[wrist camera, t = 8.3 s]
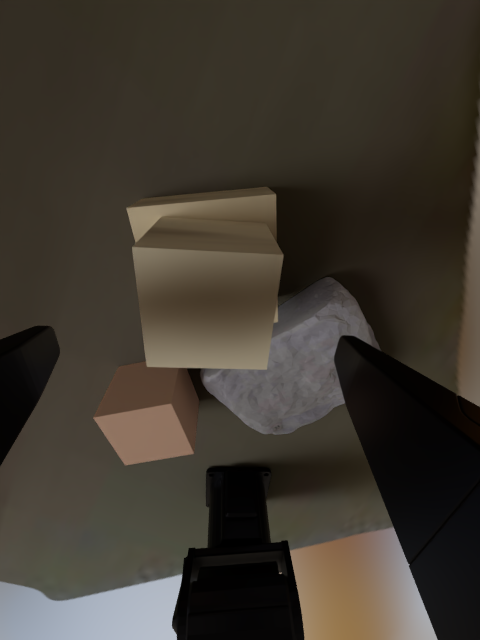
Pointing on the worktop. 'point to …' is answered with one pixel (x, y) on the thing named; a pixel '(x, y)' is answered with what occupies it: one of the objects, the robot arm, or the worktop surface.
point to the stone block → (295, 362)
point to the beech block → (207, 293)
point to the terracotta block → (149, 413)
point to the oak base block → (208, 210)
